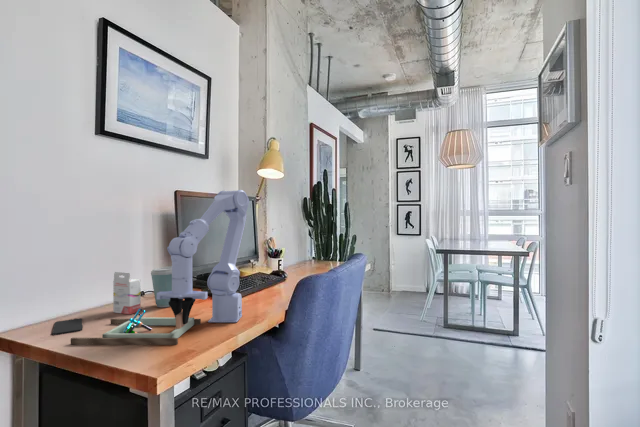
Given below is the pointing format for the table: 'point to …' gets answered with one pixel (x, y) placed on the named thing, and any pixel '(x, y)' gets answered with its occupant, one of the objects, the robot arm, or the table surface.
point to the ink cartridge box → (126, 294)
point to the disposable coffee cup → (162, 284)
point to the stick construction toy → (136, 323)
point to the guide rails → (127, 340)
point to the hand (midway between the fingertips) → (182, 323)
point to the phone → (67, 326)
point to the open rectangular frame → (179, 330)
